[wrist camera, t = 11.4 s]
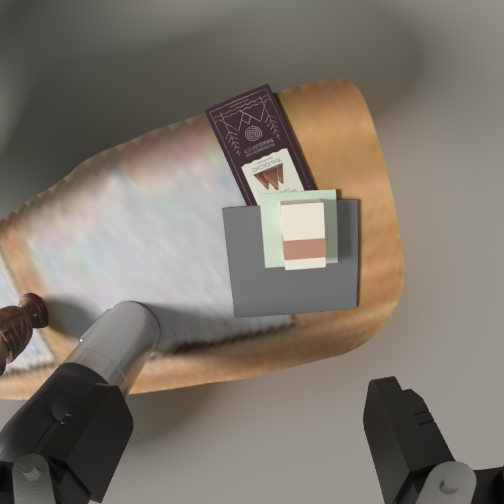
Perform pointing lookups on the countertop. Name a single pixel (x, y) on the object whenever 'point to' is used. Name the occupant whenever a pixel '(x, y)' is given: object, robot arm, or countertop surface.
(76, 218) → the countertop surface
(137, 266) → the countertop surface
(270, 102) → the chocolate bar
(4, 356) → the mortar and pestle
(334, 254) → the mat
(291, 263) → the card box
